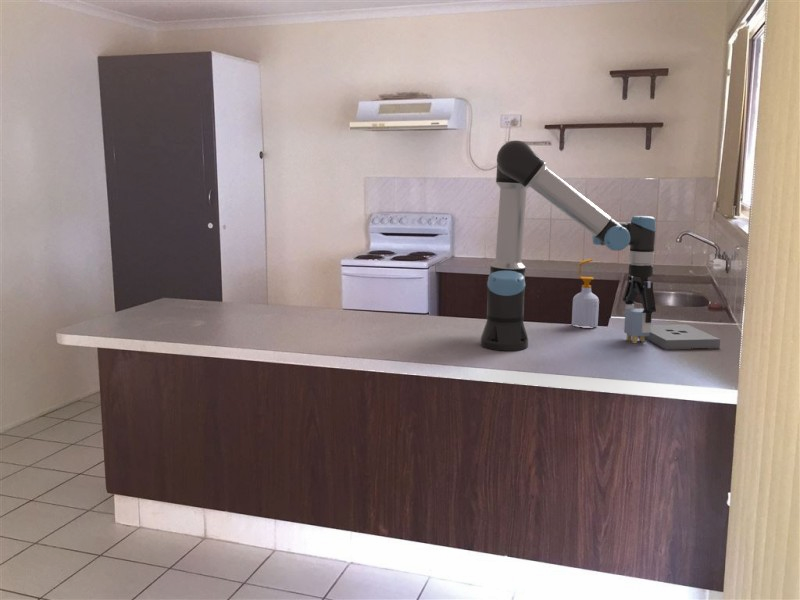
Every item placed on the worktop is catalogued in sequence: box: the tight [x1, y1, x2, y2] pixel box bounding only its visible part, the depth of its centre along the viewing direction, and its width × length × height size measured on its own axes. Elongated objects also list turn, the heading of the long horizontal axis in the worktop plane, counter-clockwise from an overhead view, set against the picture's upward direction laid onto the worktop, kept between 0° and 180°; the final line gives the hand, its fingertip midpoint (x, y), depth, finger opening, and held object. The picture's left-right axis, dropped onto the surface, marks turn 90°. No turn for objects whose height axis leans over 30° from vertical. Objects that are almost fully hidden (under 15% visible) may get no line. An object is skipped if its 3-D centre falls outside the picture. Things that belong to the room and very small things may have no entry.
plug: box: [623, 307, 649, 344], centre depth 242 cm, size 6×6×10 cm
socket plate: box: [645, 323, 721, 350], centre depth 244 cm, size 18×22×3 cm
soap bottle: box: [571, 258, 600, 328], centre depth 263 cm, size 9×9×25 cm
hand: (637, 327), depth 242 cm, fingers open, 13 cm apart
